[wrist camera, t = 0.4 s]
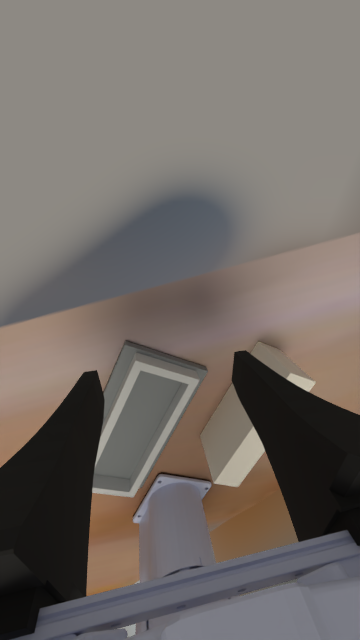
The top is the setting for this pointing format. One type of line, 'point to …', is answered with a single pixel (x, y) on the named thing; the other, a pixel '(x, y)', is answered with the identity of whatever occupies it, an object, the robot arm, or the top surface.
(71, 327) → the top surface
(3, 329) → the top surface
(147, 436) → the stepped grey tray
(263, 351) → the long cream rectangular block
